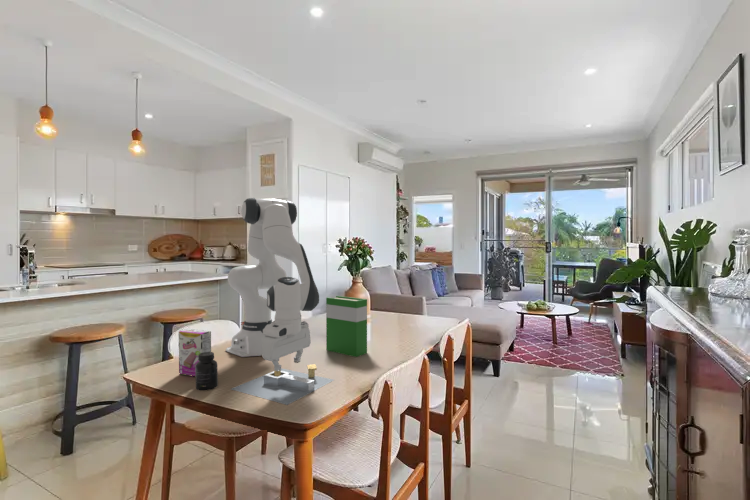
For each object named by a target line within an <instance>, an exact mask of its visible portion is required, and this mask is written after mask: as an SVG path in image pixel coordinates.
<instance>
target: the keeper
mask: <svg viewBox="0 0 750 500" xmlns="http://www.w3.org/2000/svg"><path fill="white" fill-rule="evenodd" d="M306 367H307V371H308V373H307V374H308V377H310V378H313V377H315V376H316V374H315V371H317V370H318V368H317V365H316V364H315V363H314V364H307V365H306Z"/></svg>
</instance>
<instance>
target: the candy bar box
mask: <svg viewBox="0 0 750 500" xmlns="http://www.w3.org/2000/svg"><path fill="white" fill-rule="evenodd" d="M204 352H212V331H210V330H203V329H195V328H186V329H181V330H179V331H178V374H179V373H180V374H186V375H192V376H191V377H193V376H196V374H195V366H196V364H197V363H198V362H199V361H198V355H199V354H200V353H204ZM180 374H179V375H180ZM186 375H185V376H186Z"/></svg>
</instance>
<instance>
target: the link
mask: <svg viewBox="0 0 750 500" xmlns="http://www.w3.org/2000/svg"><path fill="white" fill-rule="evenodd" d="M263 376H264V384H266V385H270V386H274V387H280V386H284V387H288V388H292V389H296V390H300V391H304V392H308V393H309V392H311V391H313V390H315V384H314V380H310V379H306V378H301V377H297V376H293V375H291V373H289V372H285V371H281V376H278V377H276V376H274V370H273V371H271V372H268V373H266V374H264V375H263ZM315 391H316V390H315ZM313 392H314V391H313ZM311 393H312V392H311ZM309 394H310V393H309Z"/></svg>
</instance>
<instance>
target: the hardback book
mask: <svg viewBox="0 0 750 500" xmlns="http://www.w3.org/2000/svg"><path fill="white" fill-rule="evenodd" d="M325 299H326V301H325V302H326V303H325V305H326V306H325V311H326V320H325V321H326V323H325V325H326V328H325V330H326V331H325V333H326V341H325V342H326V351H328V352H332V353H336V354H340V355H341V354H342V355H345V356H349V357H354V358H358V357H360V356H363V355H366V354H367V353H368V299H367V298H360V297H350V296H342V295H341V296H340V295H336V296H335V297H328V296H327V297H326V298H325Z"/></svg>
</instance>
